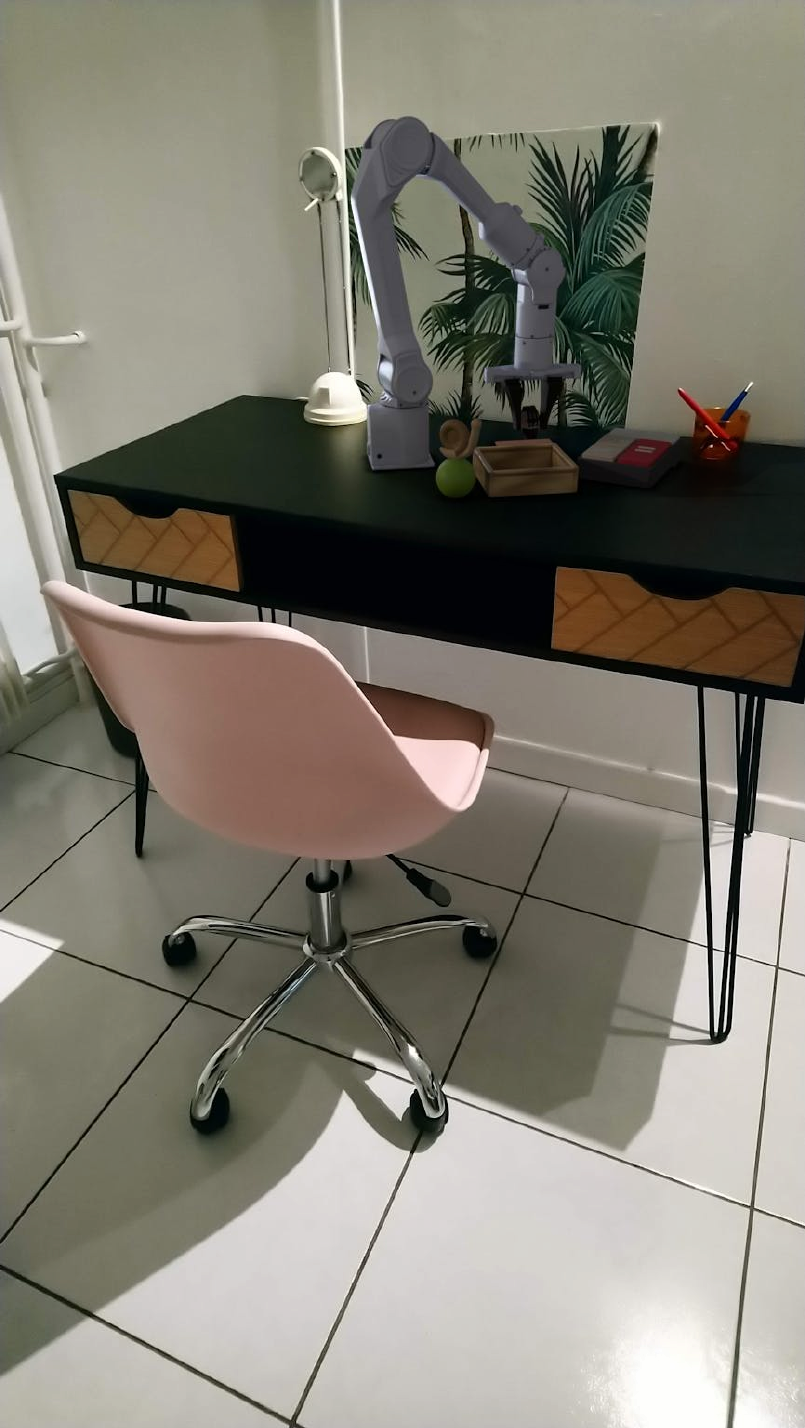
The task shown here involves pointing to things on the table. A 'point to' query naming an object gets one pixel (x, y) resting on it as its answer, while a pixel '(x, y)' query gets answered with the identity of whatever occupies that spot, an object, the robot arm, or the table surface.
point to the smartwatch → (530, 421)
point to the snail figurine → (457, 457)
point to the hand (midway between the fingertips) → (529, 428)
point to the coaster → (523, 442)
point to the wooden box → (525, 470)
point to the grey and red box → (630, 457)
